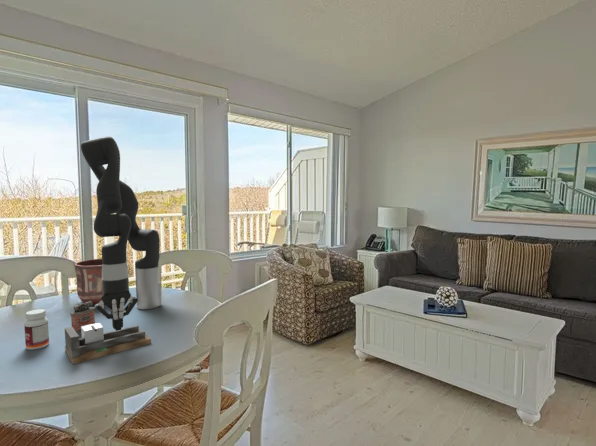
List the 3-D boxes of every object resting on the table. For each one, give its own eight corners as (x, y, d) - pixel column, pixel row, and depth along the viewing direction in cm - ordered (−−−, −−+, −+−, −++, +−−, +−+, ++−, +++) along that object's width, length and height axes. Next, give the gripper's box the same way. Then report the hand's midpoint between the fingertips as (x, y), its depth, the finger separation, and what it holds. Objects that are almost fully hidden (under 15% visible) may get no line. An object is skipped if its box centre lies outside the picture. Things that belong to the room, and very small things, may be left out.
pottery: (66, 306, 158) (64, 265, 157) (94, 294, 176) (92, 257, 174) (103, 308, 156) (102, 266, 154) (128, 296, 173) (127, 259, 172)
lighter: (74, 335, 126) (73, 307, 125) (69, 333, 128) (67, 305, 127) (97, 328, 133) (96, 301, 132) (92, 326, 135) (91, 299, 134)
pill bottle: (23, 346, 117) (21, 312, 116) (45, 340, 122) (43, 307, 121) (29, 352, 113) (26, 316, 112) (52, 345, 118) (50, 311, 117)
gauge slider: (100, 341, 117) (98, 321, 116) (106, 348, 111) (105, 327, 111) (82, 345, 114) (81, 324, 113) (87, 353, 108) (86, 331, 108)
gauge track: (138, 332, 128) (137, 311, 128) (151, 343, 119) (150, 320, 119) (65, 350, 114) (63, 327, 113) (73, 364, 105) (71, 338, 104)
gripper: (133, 271, 124) (135, 321, 125) (89, 277, 115) (92, 331, 117) (140, 275, 118) (143, 327, 119) (95, 282, 109) (98, 338, 111)
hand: (117, 329), depth 118 cm, fingers closed
